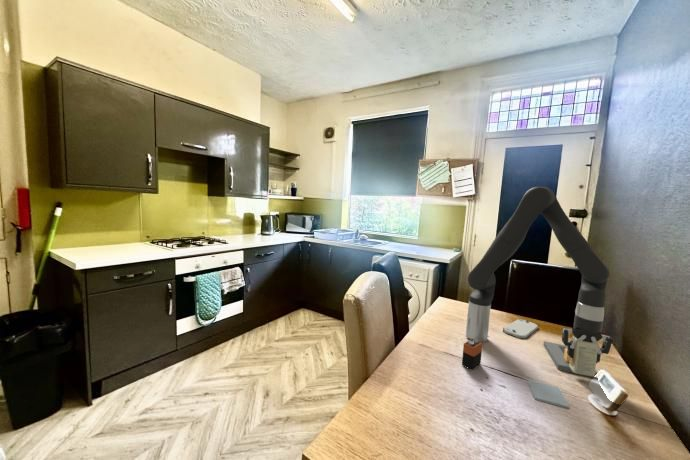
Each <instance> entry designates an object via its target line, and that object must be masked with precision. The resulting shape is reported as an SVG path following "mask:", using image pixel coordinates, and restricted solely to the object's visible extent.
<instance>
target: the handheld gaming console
mask: <svg viewBox="0 0 690 460" xmlns="http://www.w3.org/2000/svg"><path fill="white" fill-rule="evenodd" d="M538 329H539V326H538V325H537V324H536V323H534V322H531V321H529V320H526V319H521V318H517V319H515V320H514V321H513V322H511V323H510V324H508V325H507V326H504V327H503V328H502V332H503V333H505V334H507V335H510V336H512V337H514V338H517V339H526V338H528V337H529V336H530V335H531V334H533V333H535V331H536V330H538Z"/></svg>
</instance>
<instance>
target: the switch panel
mask: <svg viewBox="0 0 690 460" xmlns="http://www.w3.org/2000/svg"><path fill="white" fill-rule="evenodd" d="M542 346H543V347H544V349H545V351H546V352H547V354H548V355H549V357H550V359H551V361H552V362H553V363H554V366H555V367H556V369H557V370H559V371H563V372H567V373H572V374H576V375H580V376H584V377H585V376H586V377H588V378H593V377H594V376H589V375H583V374H578V373H574V372H573V371H572V370H571V368H570V367H569V362H567V361H566V360H565V359H564V352H565V348H566V349H568V346H566V345H564V344H561V343H556V342H552V341H546V340H544V341H543V345H542ZM597 373H598V371H597V370H596V369H595V375H596V374H597Z"/></svg>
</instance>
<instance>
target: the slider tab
mask: <svg viewBox="0 0 690 460" xmlns="http://www.w3.org/2000/svg"><path fill="white" fill-rule="evenodd" d="M564 359H565V360H566V361H567V362H570V356H569V355H568V354H567V349H566V348H565V352H564Z"/></svg>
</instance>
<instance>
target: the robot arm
mask: <svg viewBox="0 0 690 460" xmlns="http://www.w3.org/2000/svg"><path fill="white" fill-rule="evenodd" d="M540 215H541V216H542V217H543V218H544V219H545V220H546V222H547V223H548V225H549V226H550V228H551V230H552V231H553V233H554V236H555V238H556V239H557V241H558V243H559V244H560V245H561V247H562V248H563V249H564V251H565V252H566V253H567V255H568V256H569V257H570V258H571V259H572V262H573V263H574V264H575V266H576V268H577V270H578V271H579V272H580V274H581V284H580V288H579V291H578V298H577V302H576V307H575V310H574V313H575V314H574V319H573V327H572V328H566V327H564V326H563V327H561V343H563V345H566V346H568V349H567V354H568V355H569V356H570V358H573V356H574V347H575V344H576V341H586V342H592V343H593V344H598V352H597V360H596V364H598V363H600V361H601V355H603V354H605V355H608V354H609V353H610V350H611V347H612V343H613V338H612V337H611V336H610V335H608V334H605V335H604V334H602V331H603V325H604V320H605V319H604V317H605V303H606V297H607V295H606V288H607V282H608V279H609V277H610V269H609V267H608V265H607V264H605V263H604V262H602V260H601V259H600V258H599V256H598V255H597V254H596V253H595V252H594V250H593V248H592V245H590V243H589V242H588V241H587V240H586V238H585V237H584V236H583V234H582V233H581V232H580V231H579V229H578V228H577V227H576V226H575V225H574V223H573V222H572V221H571V220H570V218H569V217H568V216H567V214H566V213H565V211H564V209H563V208H562V206H561V204H560V202H559V200H558V198H557V196H556V194H555V192H554V191H553V190H552V189H551V188H549V187H546V186H534V187H531V188H529V189H528V190H527V191H526V192H525V193H524V194H523V196H522V198H521V200H520V202H519V204H518V205H517V207H516V209H515V211H514V213H513V214H512V216H511V217H510V218H509V219H508V221H507V222H506V223H505V224H504V226H503V227H502V228H501V230H500V231H499V232H498V233H497V235H496V236H495V238H494V240H493V241H492V243H491V244H490V246H489V247H488V249H487V250H486V252H485V253H484V255H483V256H482V258H481V259H480V260H479V262H478V263H477V264H476V265H475V266H474V267H473V269H471V271H470V272H469V273H468V276H467V283H468V285H469V287H470V288H471V289H473V290H472V292H471V293H470V294H469V297H468V308H467V316H466V325H465V338H466V337H467V338H466V339H469V340H471V339H477V340H478V342H481V343H485V342H487V341H488V338H489V326H490V316H491V307H492V301H493V299H494V296H495V288H496V283H497V282H496V275H495V273H494V272H496V271H497V269H498V268H499V267H500V266H502V265H503V264H504V263H506V261H508V260H509V259H510V258H511V257H512V256H514V254H515V253H516V252H517V251H518V249H519V248H520V247H521V245H522V244H523V242H524V241H525V238H526V237H527V235H528V234H527V233H528V232H529V230H530V227H531V226H532V224H533V222H535V220H536V219H537V218H538V217H539V216H540ZM571 333H572V334H573V335H572V336H573V337H576V339H577V340H574V339H573V338H572V337H571V338H570V340H569V336H570V335H571ZM600 340H601V341H602V345H601V348H600V345H599V343H598V342H599V341H600Z"/></svg>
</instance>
